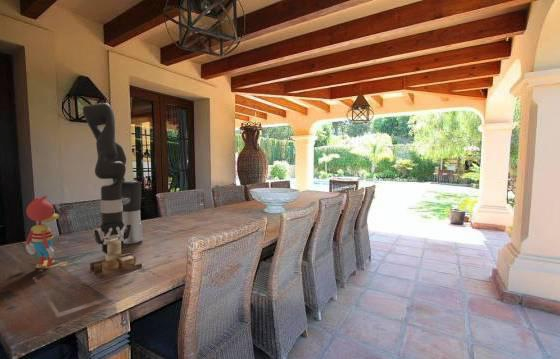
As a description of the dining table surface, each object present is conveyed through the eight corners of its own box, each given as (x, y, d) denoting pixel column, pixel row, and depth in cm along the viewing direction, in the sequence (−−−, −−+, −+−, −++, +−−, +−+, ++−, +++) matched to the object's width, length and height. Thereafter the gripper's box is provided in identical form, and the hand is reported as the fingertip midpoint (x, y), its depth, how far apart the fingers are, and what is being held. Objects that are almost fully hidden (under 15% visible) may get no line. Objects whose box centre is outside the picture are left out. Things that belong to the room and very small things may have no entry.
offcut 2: (130, 264, 117) (130, 255, 116) (134, 267, 114) (134, 257, 114) (118, 267, 113) (118, 258, 113) (122, 270, 111) (122, 260, 110)
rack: (130, 261, 123) (130, 252, 123) (143, 269, 115) (143, 259, 115) (88, 272, 111) (88, 262, 111) (99, 281, 103) (99, 271, 102)
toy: (71, 265, 117) (68, 195, 115) (44, 275, 108) (40, 198, 105) (48, 261, 122) (44, 193, 120) (20, 269, 112) (16, 196, 110)
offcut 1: (114, 269, 112) (114, 259, 112) (118, 271, 109) (118, 261, 109) (102, 272, 109) (101, 262, 108) (105, 275, 106) (105, 265, 106)
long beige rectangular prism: (118, 263, 118) (118, 238, 117) (121, 265, 116) (120, 239, 115) (105, 266, 114) (104, 240, 113) (108, 268, 112) (107, 242, 111)
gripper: (126, 207, 121) (127, 245, 122) (88, 211, 110) (89, 253, 111) (134, 209, 116) (135, 249, 117) (94, 214, 105) (96, 258, 107)
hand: (113, 251), depth 114 cm, fingers closed on long beige rectangular prism, 5 cm apart
